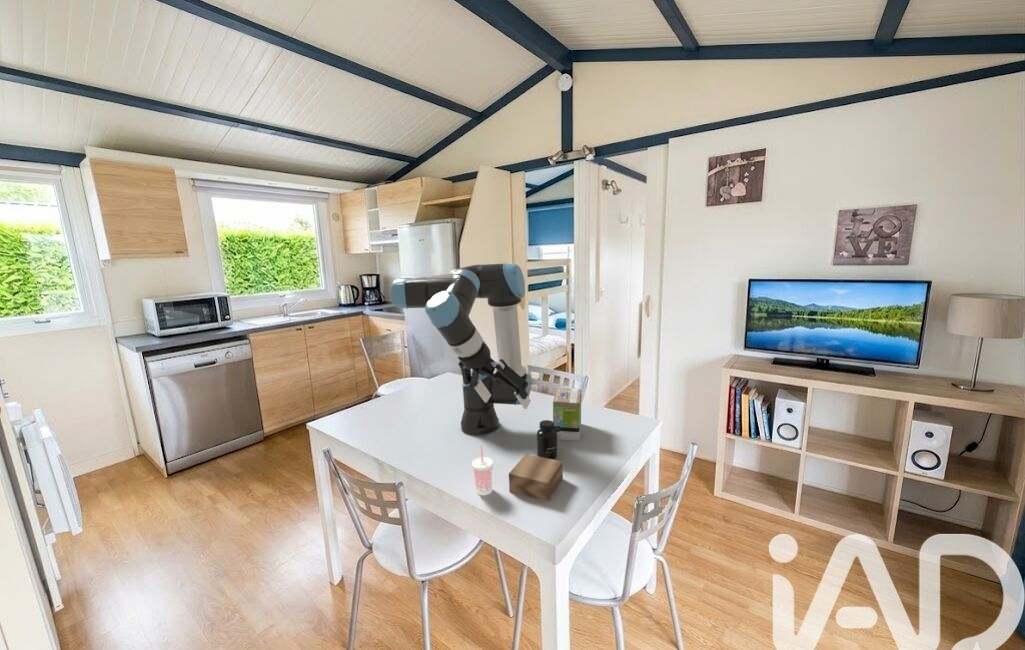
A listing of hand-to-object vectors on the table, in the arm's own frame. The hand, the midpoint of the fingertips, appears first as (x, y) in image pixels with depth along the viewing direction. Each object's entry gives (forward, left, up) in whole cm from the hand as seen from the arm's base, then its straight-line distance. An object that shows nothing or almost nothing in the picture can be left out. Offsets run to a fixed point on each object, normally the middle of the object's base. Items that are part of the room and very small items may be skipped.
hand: (507, 401), depth 107 cm
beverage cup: (-8, -3, -28) cm, 29 cm away
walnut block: (+4, +7, -28) cm, 30 cm away
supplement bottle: (-1, +23, -28) cm, 37 cm away
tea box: (-3, +43, -28) cm, 52 cm away
